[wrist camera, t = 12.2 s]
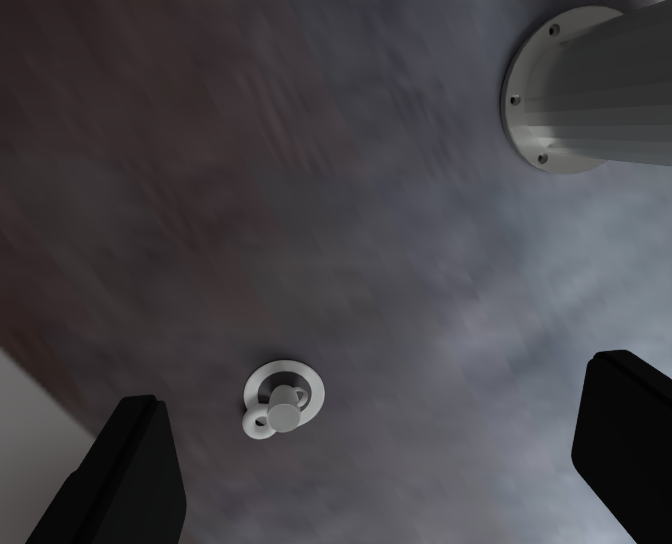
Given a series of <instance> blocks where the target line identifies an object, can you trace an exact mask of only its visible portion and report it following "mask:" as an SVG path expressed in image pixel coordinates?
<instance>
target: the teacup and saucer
mask: <svg viewBox="0 0 672 544" xmlns="http://www.w3.org/2000/svg"><path fill="white" fill-rule="evenodd" d="M281 371H290V372H294V373H297V374H299V375H301V376H303V377H304V378H305V379H306V380H307V381H308V382H309V384H310V386H311V389H312V398H311V401H310V403H309V405H308V406H307V407H306V409H305V410H303V411H302V412H301V411H300V406H302V405H304V404H305V402H306V401H307V399H308V394H307V392H306V391H305V390H304V389H303V388H299V387H295V388H292V387H291V386H289V385H280V386H278V387H277V388H276V389H275V390H274V391H273V392H272V394H271V397H270V400H269V404H259V402H258V398H257V392H258V388H259V386H260V384H261V383H262V381H263V380H264V379H265V378H267V377H268V376H269V375H271V374H274V373H276V372H281ZM297 391H302V392H303V393H304V395H303V397H302V398H301V400H300V401H299V399H298V396H297V393H296V392H297ZM324 396H325V390H324V385H323V382H322V380H321V378H320V377H319V375H318V374H317V373H316V372H315V371H314V370H313V369H312V368H310V367H309V366H307V365H305V364H303V363H300V362H297V361H292V360H279V361H274V362H271V363H268V364H266V365H264V366H262V367H260V368H259V369H257V370H256V371H255V372H254V373H253V374H252V375H251V376H250V378H249V379H248V381H247V383H246V386H245V389H244V402H245V405H246V408H247V410H248V411H247V412H246V413H245V415H244V417H243V422H242V425H243V429H244V431H245V432H246V433H247V435H249V436H250V437H252V438H255V439H265V438H268V437H270V436H271V435H273V434H274V433H275V432H276V431H278V432H288V431H291V430H293V429H295V428H296V427H297V426H299V425H302V424H304V423H306V422H308V421H309V420H310V419H312V418H313V417H314V416H315V415H316V414H317V413H318V411H319V410H320V408H321V406H322V404H323V401H324ZM255 420H257V421H259V422H260V423H262V424H264V426H257V425H256V423H255Z"/></svg>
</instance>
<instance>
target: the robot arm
mask: <svg viewBox="0 0 672 544" xmlns="http://www.w3.org/2000/svg"><path fill="white" fill-rule="evenodd" d="M549 30H550V34H549ZM511 98H512V100H513V101H512V103H511V102H510V99H511ZM501 119H502V124H503V128H504V131H505V135H506V137H507V139H508V141H509V143H510V145H511V147H512V148H513V150H514V151H515V152H516V153H517V155H518V156H519V157H520V158H521V159H522V160H524V161H525V162H526V163H527V164H529V165H530V166H532V167H535V168H537V169H539V170H541V171H545V172H550V173H555V174H564V175H565V174H576V173H581V172H584V171H588V170H591V169H593V168H595V167H597V166H599V165H601V164H603V163H605V162H606V161H608V160H613V161H623V162H633V163H643V164H653V165H663V166H672V0H665V1H662V2H659V3H656V4H653V5H650V6H647V7H644V8H641V9H638V10H635V11H632V12H629V13H626V14H623V13H622V12H620V11H619V10H615V9H612V8H609V7H606V6H592V5H590V6H584V7H578V8H574V9H571V10H569V11H566V12H563V13H561V14H559V15H557V16H555V17H553V18H551V19H549V20H548V21H546V22H545V23H544V24H542V25H541V26H540V27H538V28H537V29H536V30H535V31H533V33H532V34H531V35H530V36H529V37H528V38H527V39H526V40H525V41H524V42H523V44H522V45H521V47H520V48H519V50H518V51H517V53H516V54H515V56H514V57H513V59H512V62H511V64H510V66H509V68H508V71H507V73H506V76H505V80H504V84H503V88H502V95H501ZM538 157H539V160H538ZM571 457H572V462H573V465H574V467H575V469H576V470H577V472H578V473H579V474H580V475H581V477H582V478H583V479H584V480H585V481H586V483H587V484H588V485H589V486H590V487H591V489H592V490H593V491H594V492H595V493H596V495H597V496H598V497H599V498H600V499H601V501H602V502H603V503H604V504H605V506H606V507H607V508H608V509H609V510H610V512H611V513H612V514H613V515H614V516H615V518H616V519H617V520H618V521H619V522H620V524H621V525H622V526H623V527H624V528H625V530H626V531H627V532H628V533H629V535H630V536H631V537H632V538H633V539H634V541H635V542H636V543H637V544H672V379H671V378H669V377H668V376H666V375H665V374H663V373H661V372H660V371H658V370H657V369H655V368H654V367H652V366H651V365H649V364H648V363H646V362H645V361H643V360H642V359H640V358H639V357H637V356H636V355H634V354H633V353H631V352H630V351H627V350H612V351H602V352H598V353H596V354H595V355H594V357H593V359H591V360H590V361H589V362H588V364H587V369H586V374H585V380H584V385H583V391H582V396H581V402H580V407H579V413H578V418H577V424H576V429H575V435H574V441H573V446H572V452H571ZM185 515H186V495H185V491H184V486H183V481H182V477H181V472H180V468H179V463H178V458H177V454H176V449H175V445H174V440H173V435H172V431H171V426H170V422H169V417H168V412H167V408H166V404H165V402H164V401H157V399H156V397H155V396H154V395H142V396H131V397H124V398H123V399H122V400H121V401H120V402H119V404H118V405H117V407H116V409H115V410H114V412H113V413H112V415H111V417H110V418H109V420H108V421H107V423H106V425H105V426H104V428H103V429H102V431H101V433H100V434H99V436H98V437H97V439H96V441H95V442H94V444H93V445H92V447H91V449H90V450H89V452H88V453H87V455H86V456H85V458H84V460H83V461H82V463H81V464H80V466H79V468H78V469H77V470H76V471H74V472H73V473H71V474H70V476H69V477H68V478H67V479H66V480H65V482H64V484H63V485H62V487H61V488H60V490H59V491H58V493H57V494H56V496H55V498H54V499H53V501H52V502H51V504H50V505H49V507H48V508H47V510H46V512H45V513H44V515H43V516H42V518H41V519H40V521H39V523H38V524H37V526H36V527H35V529H34V531H33V532H32V533H31V535H30V537H29V538H28V540H27V541H26V543H25V544H178V541H179V538H180V534H181V530H182V527H183V523H184V520H185Z"/></svg>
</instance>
